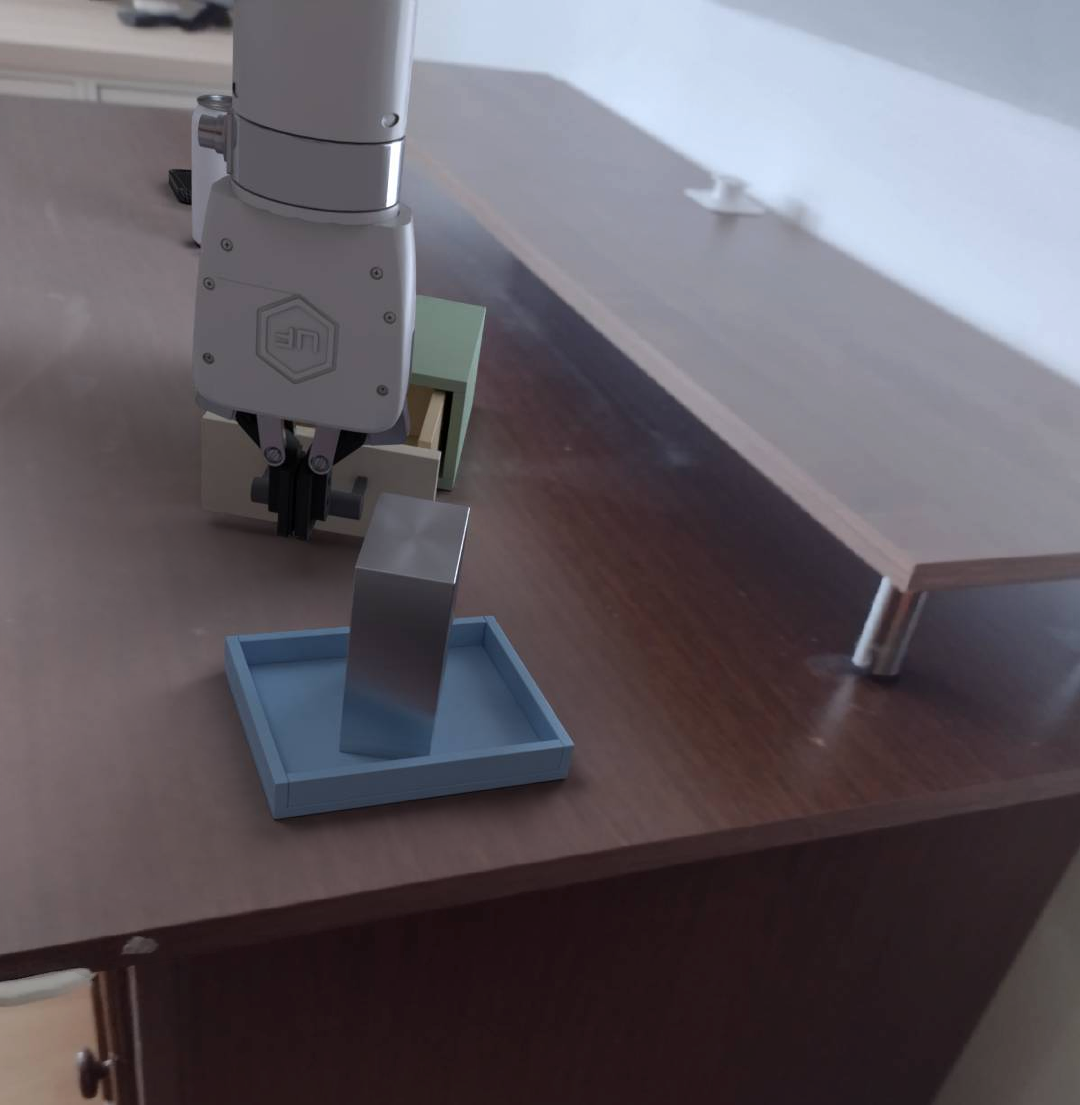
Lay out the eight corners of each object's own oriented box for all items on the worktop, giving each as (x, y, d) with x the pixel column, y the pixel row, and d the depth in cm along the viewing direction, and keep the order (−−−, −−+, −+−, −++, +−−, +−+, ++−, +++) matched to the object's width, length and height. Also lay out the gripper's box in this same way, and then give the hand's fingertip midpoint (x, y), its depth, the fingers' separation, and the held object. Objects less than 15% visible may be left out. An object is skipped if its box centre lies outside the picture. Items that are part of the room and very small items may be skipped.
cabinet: (452, 491, 79) (467, 382, 75) (232, 452, 78) (234, 339, 74) (472, 405, 91) (486, 306, 86) (280, 371, 90) (285, 269, 85)
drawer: (419, 582, 68) (431, 490, 64) (182, 541, 67) (181, 446, 63) (451, 453, 82) (462, 372, 78) (255, 418, 81) (257, 334, 77)
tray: (273, 820, 52) (275, 783, 51) (224, 670, 60) (224, 635, 58) (567, 778, 58) (575, 745, 56) (487, 646, 65) (492, 614, 64)
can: (222, 228, 114) (223, 90, 107) (278, 248, 112) (283, 109, 105) (177, 241, 109) (175, 97, 102) (235, 261, 107) (237, 116, 100)
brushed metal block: (338, 751, 55) (354, 566, 49) (362, 666, 61) (380, 491, 55) (428, 766, 56) (455, 583, 50) (444, 679, 61) (470, 506, 55)
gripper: (121, 151, 50) (136, 535, 61) (475, 219, 51) (426, 586, 62) (174, 116, 56) (179, 472, 67) (489, 177, 57) (443, 519, 68)
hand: (298, 526), depth 64 cm, fingers closed
